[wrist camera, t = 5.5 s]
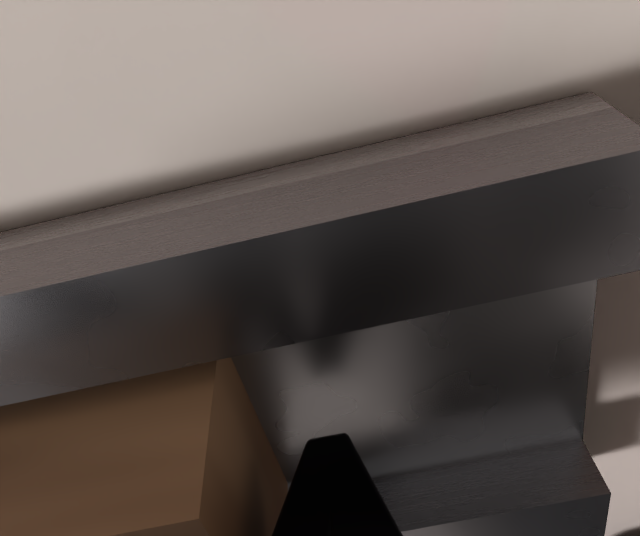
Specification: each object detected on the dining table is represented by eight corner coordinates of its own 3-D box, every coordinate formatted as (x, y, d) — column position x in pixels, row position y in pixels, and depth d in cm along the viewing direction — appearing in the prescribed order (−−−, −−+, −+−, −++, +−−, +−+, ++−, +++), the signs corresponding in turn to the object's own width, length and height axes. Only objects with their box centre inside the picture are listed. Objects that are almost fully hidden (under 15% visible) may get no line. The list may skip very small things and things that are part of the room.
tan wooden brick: (287, 482, 12) (291, 659, 9) (-25, 543, 12) (-105, 726, 10) (219, 332, 9) (198, 519, 6) (-172, 416, 10) (-337, 621, 7)
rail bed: (566, 465, 13) (603, 541, 12) (-86, 588, 14) (-127, 671, 13) (591, 92, 8) (665, 144, 6) (-445, 337, 9) (-583, 429, 8)
